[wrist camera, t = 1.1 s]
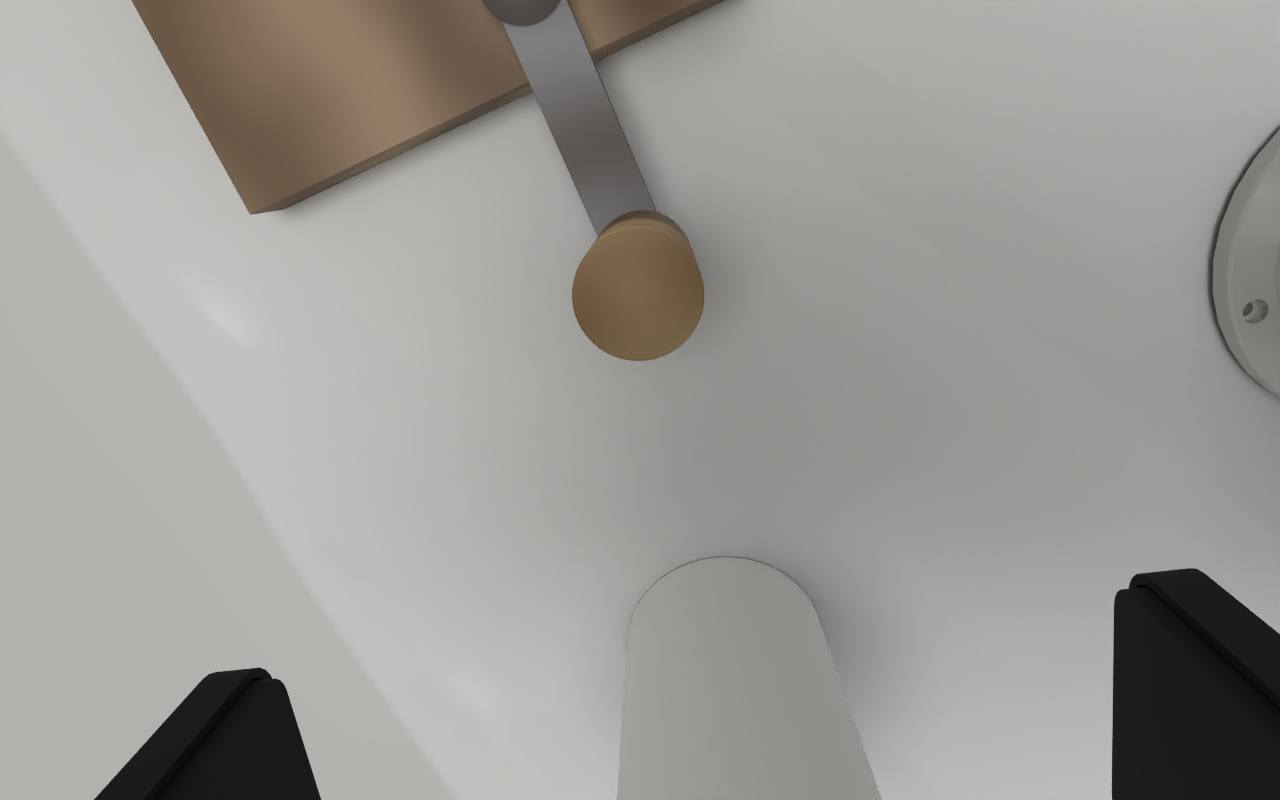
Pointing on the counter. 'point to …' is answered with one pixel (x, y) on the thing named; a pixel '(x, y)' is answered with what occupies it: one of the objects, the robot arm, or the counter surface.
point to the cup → (735, 693)
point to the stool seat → (353, 77)
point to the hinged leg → (606, 195)
